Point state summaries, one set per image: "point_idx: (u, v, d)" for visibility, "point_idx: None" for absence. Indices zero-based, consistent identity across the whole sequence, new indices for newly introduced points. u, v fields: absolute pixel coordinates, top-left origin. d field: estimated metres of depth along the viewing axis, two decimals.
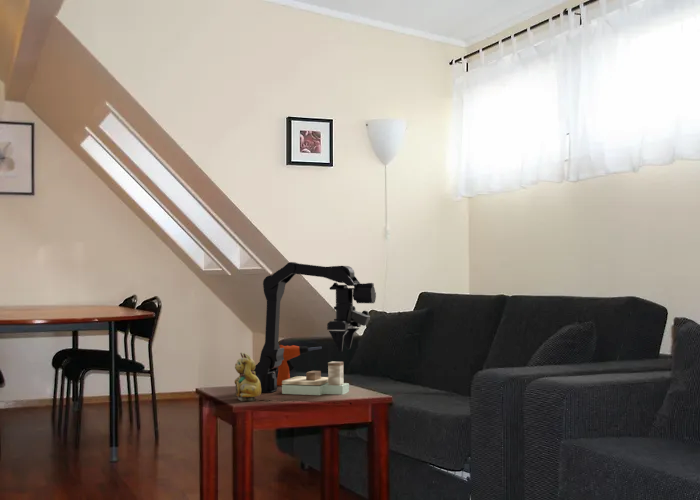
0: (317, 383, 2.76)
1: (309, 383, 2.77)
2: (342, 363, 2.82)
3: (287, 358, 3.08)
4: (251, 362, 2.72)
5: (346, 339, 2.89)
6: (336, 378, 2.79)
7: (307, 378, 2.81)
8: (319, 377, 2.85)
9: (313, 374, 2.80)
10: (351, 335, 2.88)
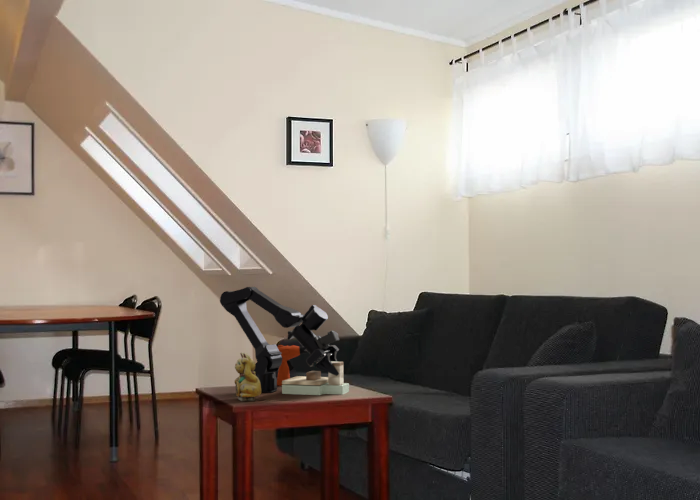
0: (317, 383, 2.76)
1: (309, 383, 2.77)
2: (342, 363, 2.82)
3: (287, 358, 3.08)
4: (251, 362, 2.72)
5: None
6: (336, 378, 2.79)
7: (307, 378, 2.81)
8: (319, 377, 2.85)
9: (313, 374, 2.80)
10: None
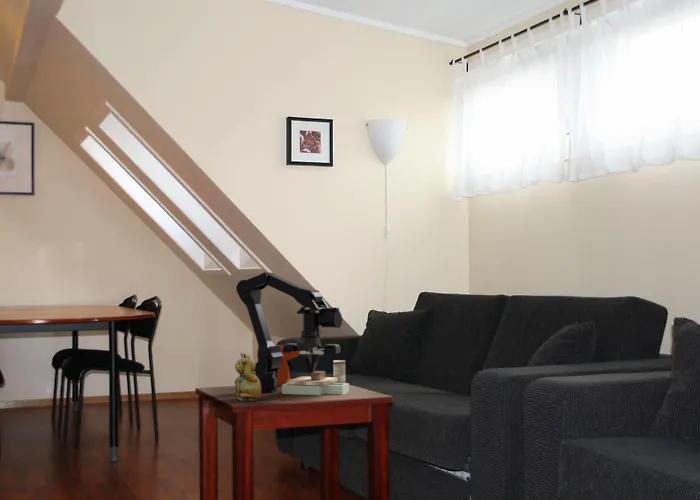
0: (322, 383, 2.75)
1: (314, 383, 2.76)
2: None
3: (287, 358, 3.08)
4: (251, 362, 2.72)
5: None
6: (341, 376, 2.94)
7: (312, 378, 2.81)
8: (324, 377, 2.84)
9: (318, 374, 2.80)
10: None
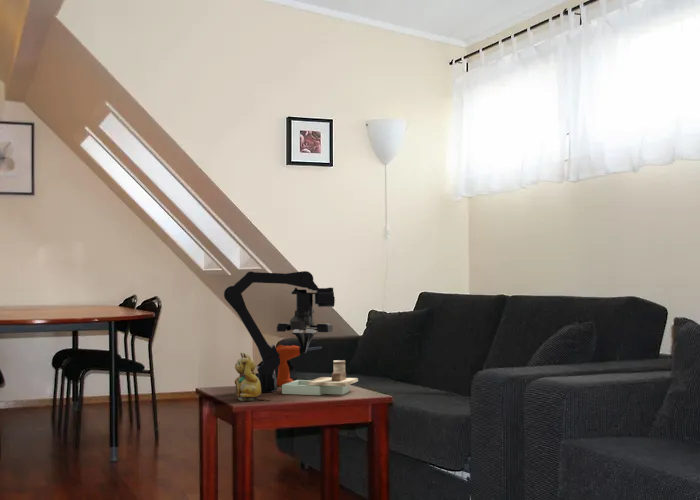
0: (343, 384, 2.73)
1: (335, 384, 2.74)
2: None
3: (287, 358, 3.08)
4: (251, 362, 2.72)
5: None
6: None
7: (332, 379, 2.78)
8: (344, 378, 2.82)
9: (339, 375, 2.78)
10: None
